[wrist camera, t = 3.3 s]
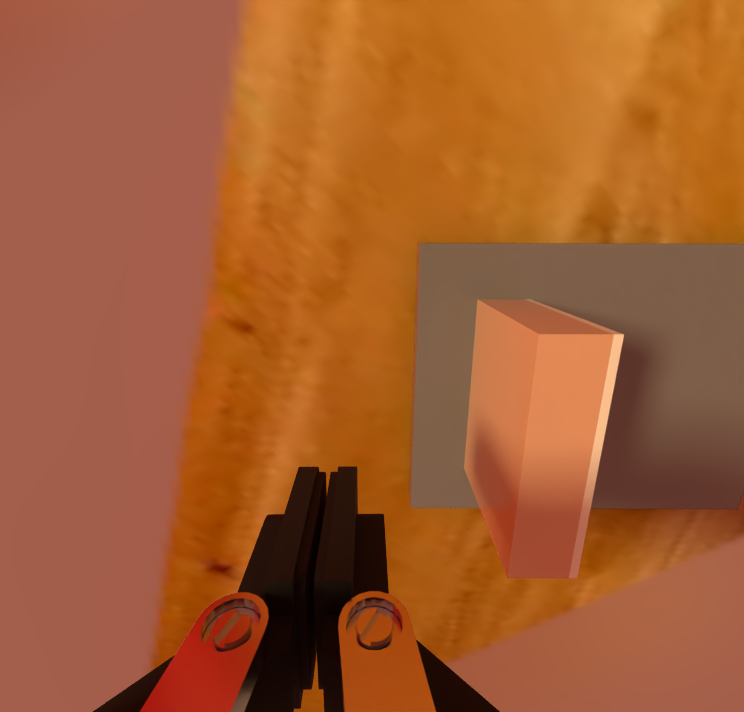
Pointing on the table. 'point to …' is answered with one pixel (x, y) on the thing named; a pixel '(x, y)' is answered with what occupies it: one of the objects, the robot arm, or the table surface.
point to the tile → (537, 430)
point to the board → (634, 374)
